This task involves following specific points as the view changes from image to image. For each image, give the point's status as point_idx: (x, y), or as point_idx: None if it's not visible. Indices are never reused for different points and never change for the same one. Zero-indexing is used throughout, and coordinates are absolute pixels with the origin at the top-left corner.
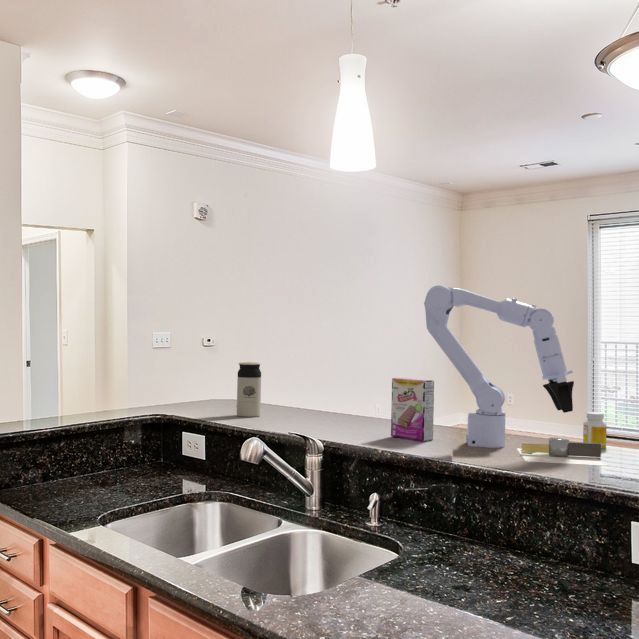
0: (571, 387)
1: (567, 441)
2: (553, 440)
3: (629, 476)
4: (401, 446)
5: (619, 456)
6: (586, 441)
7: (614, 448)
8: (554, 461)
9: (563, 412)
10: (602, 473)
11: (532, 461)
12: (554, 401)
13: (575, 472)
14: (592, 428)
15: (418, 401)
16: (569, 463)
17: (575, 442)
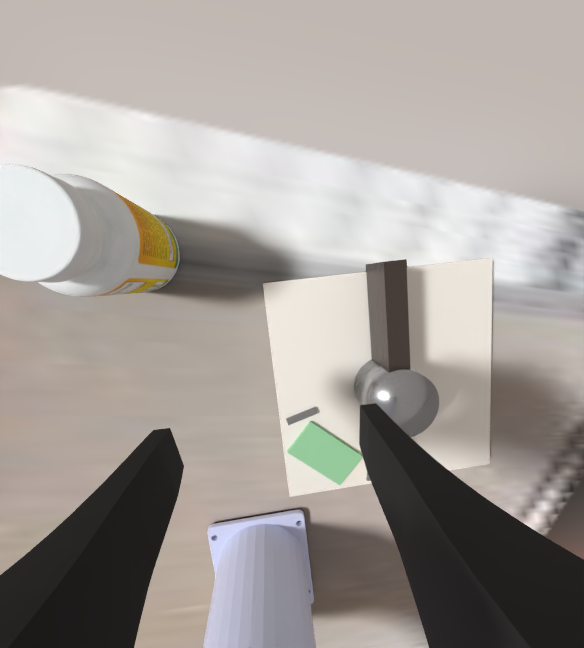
0: (574, 564)
1: (425, 377)
2: (429, 422)
3: (546, 213)
4: None
5: (222, 179)
6: (154, 283)
7: (27, 162)
8: (472, 396)
9: (361, 444)
10: (524, 279)
11: (488, 448)
12: (162, 537)
13: (528, 344)
14: (142, 258)
15: None
16: (489, 359)
17: (400, 347)
